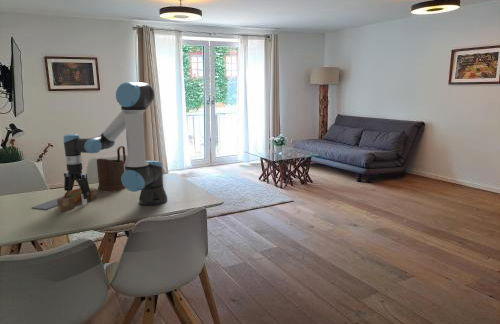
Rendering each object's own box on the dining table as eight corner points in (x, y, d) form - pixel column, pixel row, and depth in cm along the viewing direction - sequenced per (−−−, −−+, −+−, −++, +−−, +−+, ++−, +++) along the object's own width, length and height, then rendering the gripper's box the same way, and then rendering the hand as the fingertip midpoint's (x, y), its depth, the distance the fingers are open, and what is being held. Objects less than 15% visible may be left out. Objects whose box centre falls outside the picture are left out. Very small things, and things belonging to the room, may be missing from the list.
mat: (80, 197, 212) (80, 196, 212) (46, 210, 189) (46, 208, 189) (67, 195, 215) (67, 194, 215) (31, 208, 193) (31, 207, 192)
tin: (67, 207, 193) (65, 192, 191) (63, 206, 194) (61, 191, 193) (92, 200, 205) (90, 185, 204) (88, 199, 207) (86, 185, 205)
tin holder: (97, 198, 208) (96, 188, 207) (66, 211, 187) (64, 200, 186) (90, 197, 210) (88, 187, 209) (57, 210, 189) (56, 199, 188)
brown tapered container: (90, 190, 225) (86, 151, 220) (115, 181, 248) (111, 145, 243) (115, 192, 220) (112, 152, 215) (138, 183, 242) (135, 146, 237)
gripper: (53, 163, 194) (58, 204, 198) (84, 165, 187) (88, 207, 192) (64, 160, 201) (69, 200, 205) (94, 162, 194) (98, 203, 199)
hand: (78, 203), depth 199 cm, fingers open, 8 cm apart
